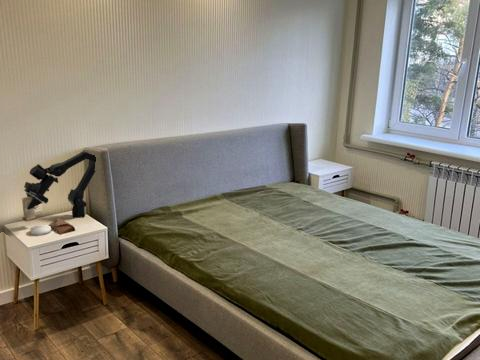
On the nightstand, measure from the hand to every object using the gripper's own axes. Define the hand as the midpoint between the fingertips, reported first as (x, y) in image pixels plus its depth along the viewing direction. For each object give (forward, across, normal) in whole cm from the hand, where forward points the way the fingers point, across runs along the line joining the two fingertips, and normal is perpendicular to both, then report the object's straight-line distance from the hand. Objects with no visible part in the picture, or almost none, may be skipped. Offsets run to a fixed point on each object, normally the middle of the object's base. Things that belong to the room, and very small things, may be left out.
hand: (26, 208), depth 246 cm
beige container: (+4, 0, +6) cm, 7 cm away
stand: (+6, +10, +10) cm, 16 cm away
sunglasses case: (0, +12, +17) cm, 21 cm away
